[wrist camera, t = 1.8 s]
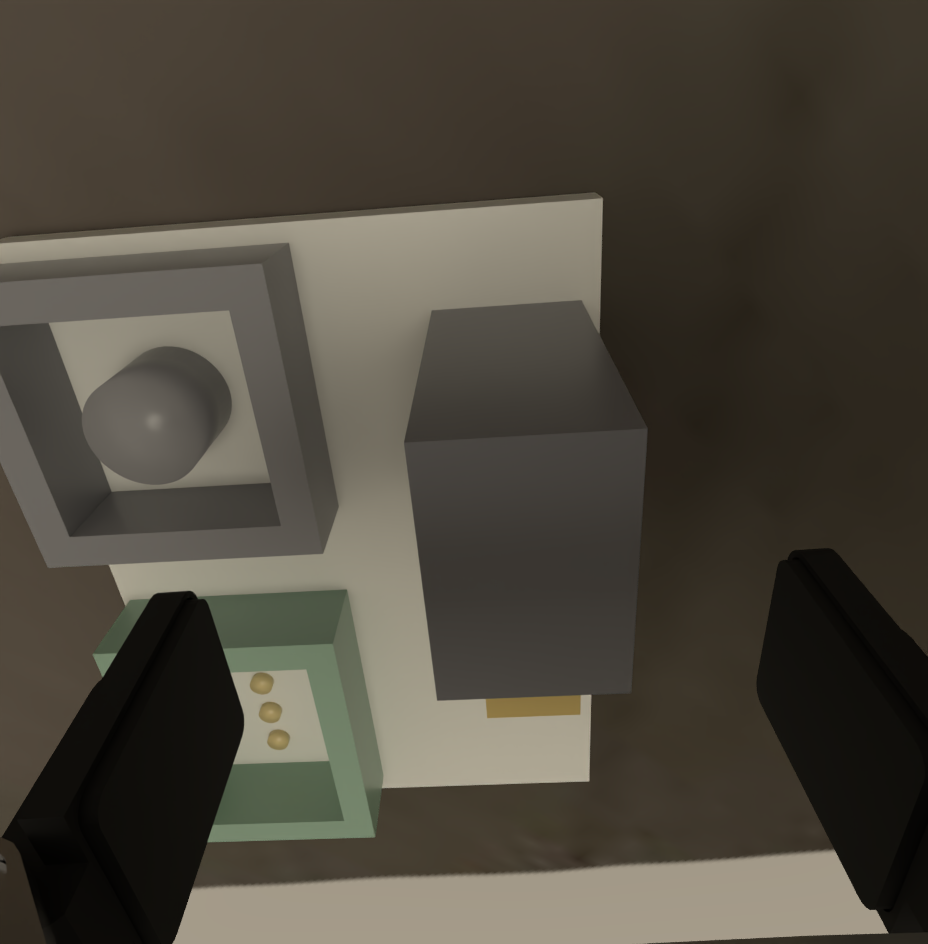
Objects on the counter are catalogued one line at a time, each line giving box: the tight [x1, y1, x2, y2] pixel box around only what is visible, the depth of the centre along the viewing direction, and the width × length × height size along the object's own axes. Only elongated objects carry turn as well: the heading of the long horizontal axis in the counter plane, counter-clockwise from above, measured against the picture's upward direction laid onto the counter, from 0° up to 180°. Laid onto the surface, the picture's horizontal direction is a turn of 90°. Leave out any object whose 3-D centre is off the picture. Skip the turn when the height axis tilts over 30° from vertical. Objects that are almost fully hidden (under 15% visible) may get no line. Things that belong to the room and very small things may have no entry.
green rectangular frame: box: [93, 589, 384, 842], centre depth 24 cm, size 8×10×3 cm
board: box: [0, 192, 603, 788], centre depth 22 cm, size 16×22×4 cm
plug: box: [404, 300, 648, 718], centre depth 16 cm, size 4×7×8 cm, turn 4°
